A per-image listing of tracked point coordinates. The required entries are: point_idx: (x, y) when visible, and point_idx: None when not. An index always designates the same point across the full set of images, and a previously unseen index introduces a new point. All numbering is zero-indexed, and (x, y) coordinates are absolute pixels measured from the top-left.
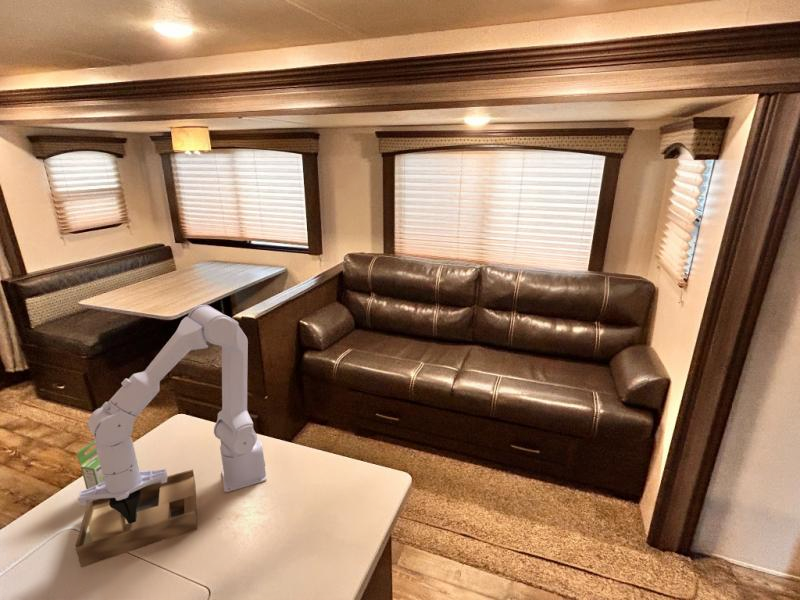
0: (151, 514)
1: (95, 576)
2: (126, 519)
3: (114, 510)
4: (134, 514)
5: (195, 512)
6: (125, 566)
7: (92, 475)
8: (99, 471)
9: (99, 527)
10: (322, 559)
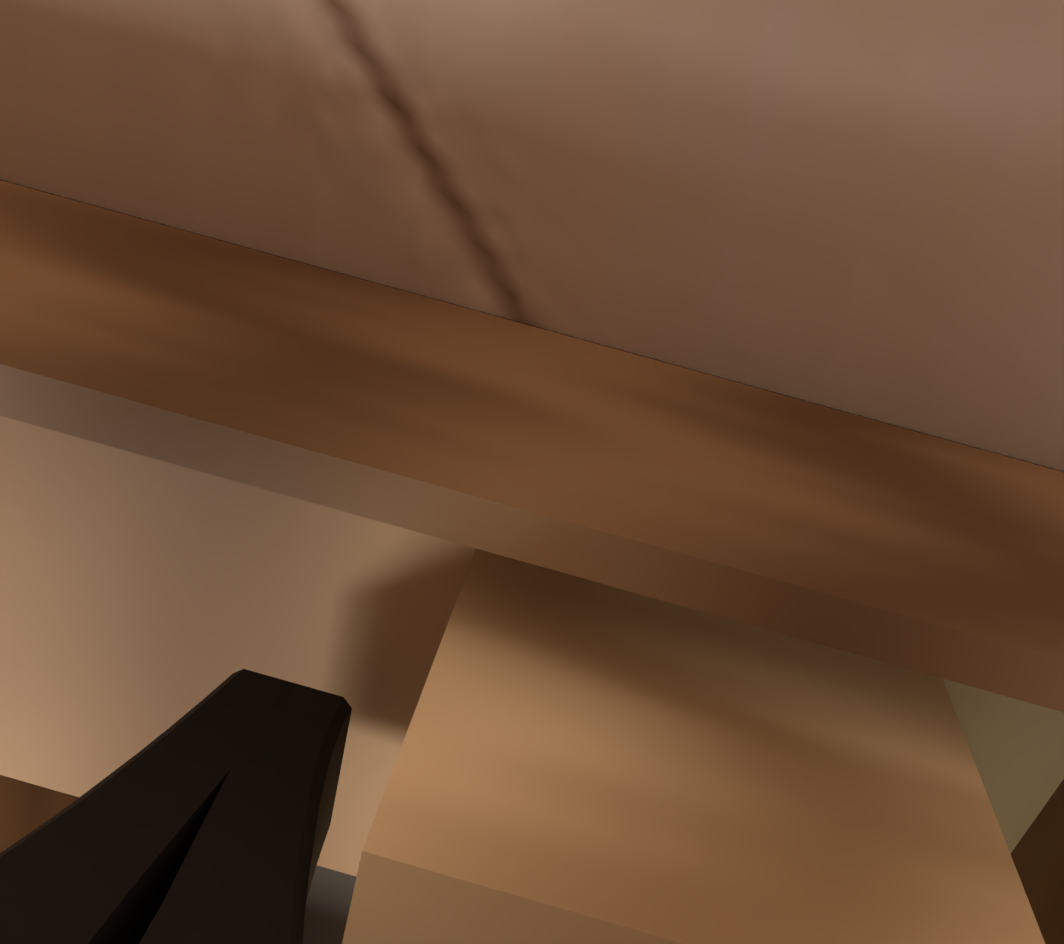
0: (67, 678)
1: (1013, 158)
2: (311, 786)
3: None
4: (102, 792)
5: None
6: (596, 42)
7: None
8: None
9: (843, 936)
10: None
